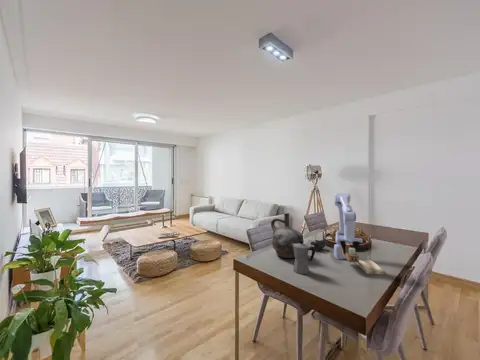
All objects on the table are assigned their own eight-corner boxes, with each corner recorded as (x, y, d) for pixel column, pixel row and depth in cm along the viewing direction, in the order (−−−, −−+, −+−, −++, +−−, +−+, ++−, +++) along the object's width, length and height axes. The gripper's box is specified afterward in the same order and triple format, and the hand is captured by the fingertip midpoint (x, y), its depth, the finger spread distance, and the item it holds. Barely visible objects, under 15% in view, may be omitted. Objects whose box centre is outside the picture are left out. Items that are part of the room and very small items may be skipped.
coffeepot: (286, 269, 135) (287, 239, 135) (295, 265, 142) (295, 236, 141) (310, 278, 124) (310, 245, 124) (319, 273, 131) (319, 242, 130)
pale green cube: (349, 254, 133) (350, 248, 133) (348, 252, 136) (348, 247, 136) (355, 254, 133) (355, 249, 133) (353, 252, 136) (353, 247, 136)
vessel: (263, 257, 155) (263, 213, 155) (274, 248, 175) (274, 209, 174) (299, 264, 144) (299, 217, 143) (306, 253, 163) (307, 212, 162)
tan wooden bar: (358, 262, 131) (358, 255, 131) (349, 262, 131) (349, 255, 131) (348, 253, 147) (349, 247, 147) (340, 253, 147) (340, 246, 147)
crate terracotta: (345, 249, 142) (345, 244, 142) (343, 247, 145) (343, 243, 145) (350, 249, 141) (350, 244, 141) (348, 248, 144) (348, 243, 144)
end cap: (319, 252, 165) (319, 243, 165) (310, 250, 171) (310, 241, 171) (325, 249, 172) (325, 240, 172) (316, 247, 177) (316, 238, 177)
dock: (366, 273, 130) (366, 270, 130) (355, 261, 148) (355, 259, 148) (385, 274, 129) (385, 271, 129) (371, 262, 147) (371, 259, 147)
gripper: (338, 232, 136) (338, 255, 136) (364, 233, 134) (364, 256, 134) (335, 229, 143) (335, 251, 143) (359, 230, 141) (359, 252, 141)
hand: (349, 253), depth 139 cm, fingers closed on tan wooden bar, 5 cm apart
